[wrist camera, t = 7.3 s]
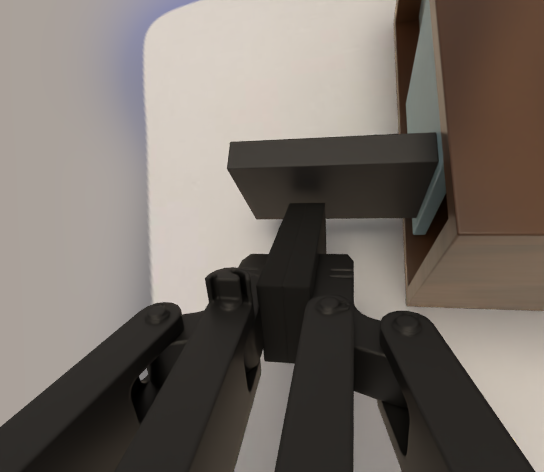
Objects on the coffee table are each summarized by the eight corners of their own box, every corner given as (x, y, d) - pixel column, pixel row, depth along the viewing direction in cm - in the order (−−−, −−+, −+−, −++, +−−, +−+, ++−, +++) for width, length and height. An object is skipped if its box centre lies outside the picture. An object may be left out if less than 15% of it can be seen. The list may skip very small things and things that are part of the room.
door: (261, 235, 21) (213, 156, 13) (271, 112, 23) (235, -10, 16) (425, 235, 19) (471, 145, 12) (417, 102, 22) (449, -37, 14)
